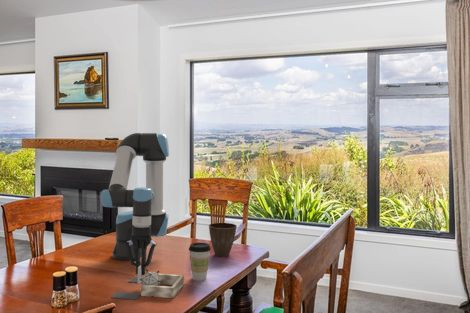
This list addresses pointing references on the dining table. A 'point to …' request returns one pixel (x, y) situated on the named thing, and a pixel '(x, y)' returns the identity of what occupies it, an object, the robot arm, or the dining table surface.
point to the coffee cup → (199, 260)
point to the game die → (151, 278)
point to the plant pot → (222, 237)
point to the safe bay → (164, 290)
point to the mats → (126, 294)
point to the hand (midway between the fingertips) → (140, 282)
